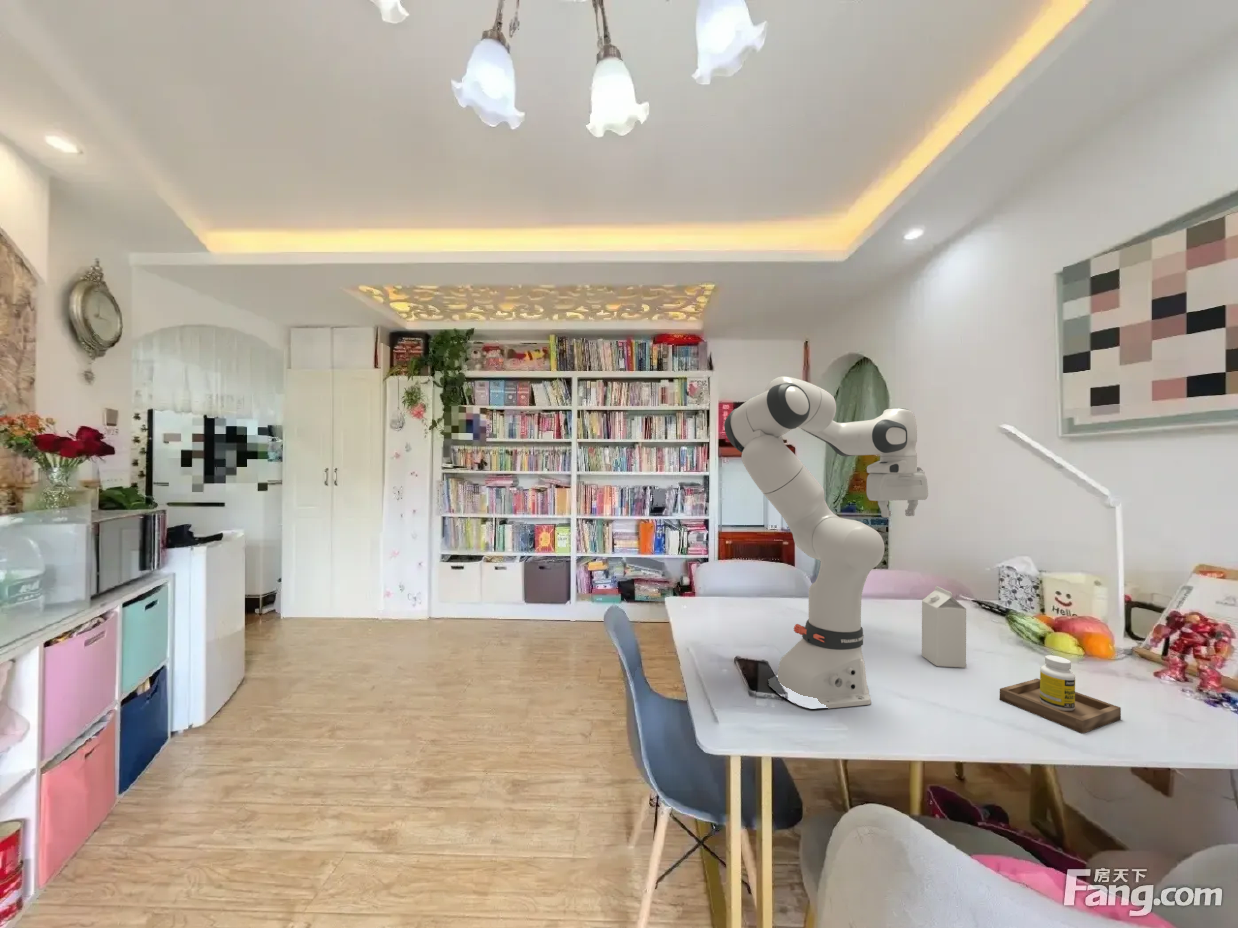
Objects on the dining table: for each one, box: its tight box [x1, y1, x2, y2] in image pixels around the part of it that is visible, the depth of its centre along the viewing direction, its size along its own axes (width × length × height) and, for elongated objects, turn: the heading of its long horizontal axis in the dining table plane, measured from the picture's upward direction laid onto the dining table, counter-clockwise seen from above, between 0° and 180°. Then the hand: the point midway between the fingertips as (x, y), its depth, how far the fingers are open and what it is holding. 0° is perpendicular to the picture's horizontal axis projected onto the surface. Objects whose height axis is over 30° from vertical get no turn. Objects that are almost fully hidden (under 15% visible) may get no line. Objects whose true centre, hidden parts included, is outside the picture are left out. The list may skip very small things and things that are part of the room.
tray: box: [999, 678, 1122, 734], centre depth 99 cm, size 14×14×2 cm
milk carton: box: [921, 585, 967, 669], centre depth 123 cm, size 7×7×19 cm
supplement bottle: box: [1039, 654, 1076, 711], centre depth 99 cm, size 5×5×10 cm
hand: (898, 516), depth 130 cm, fingers open, 8 cm apart
